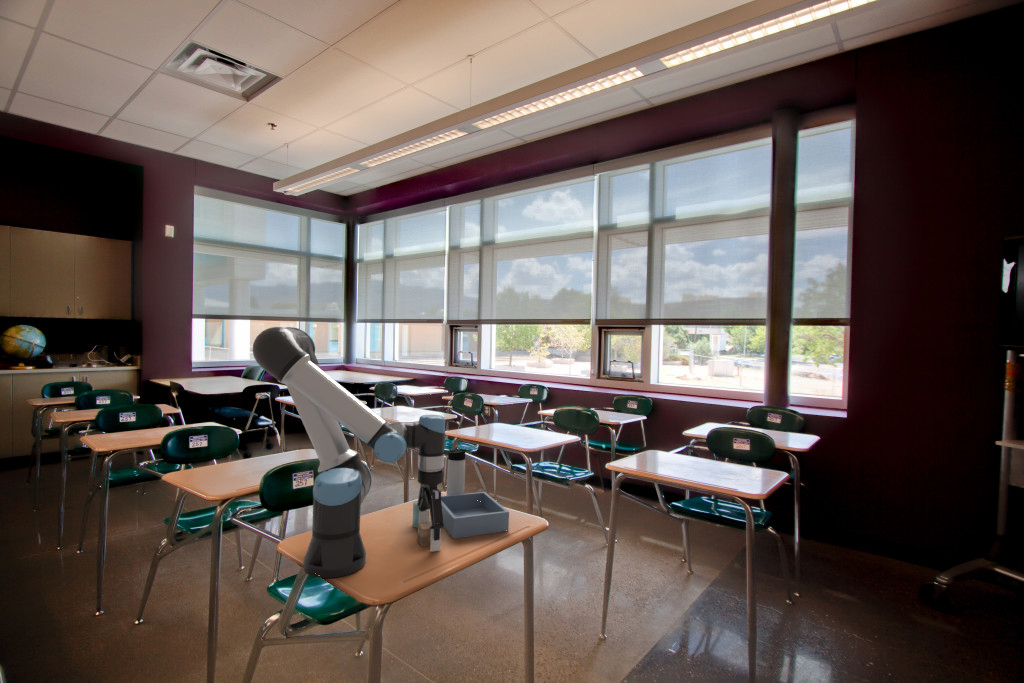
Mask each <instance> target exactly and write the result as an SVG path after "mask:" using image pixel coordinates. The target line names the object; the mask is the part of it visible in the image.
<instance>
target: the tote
mask: <svg viewBox="0 0 1024 683" xmlns="http://www.w3.org/2000/svg"><path fill="white" fill-rule="evenodd" d="M477 500H478V501H477ZM480 501H481V502H480ZM441 503H442V514H443V524H444V527H443V528H444V529H445V531H446V532H447V533H448V534H449V535H450V536H451V538H452V539H461V538H468V537H476V536H483V535H490V534H495V533H496V532H498V533H502V532H501V531H505V532H507V531H506V530H508V531H509V529H510V528H509V524H510V512H509V510H508V509H506V508H505V507H504V506H503V505H502V504H500V503H499V502H498V501H497V500H496V499H495V498H493V497H492V496H491V495H490V494H488V493H487V491H479V492H468V493H464V494H457V495H447V494H446V495H441Z"/></svg>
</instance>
